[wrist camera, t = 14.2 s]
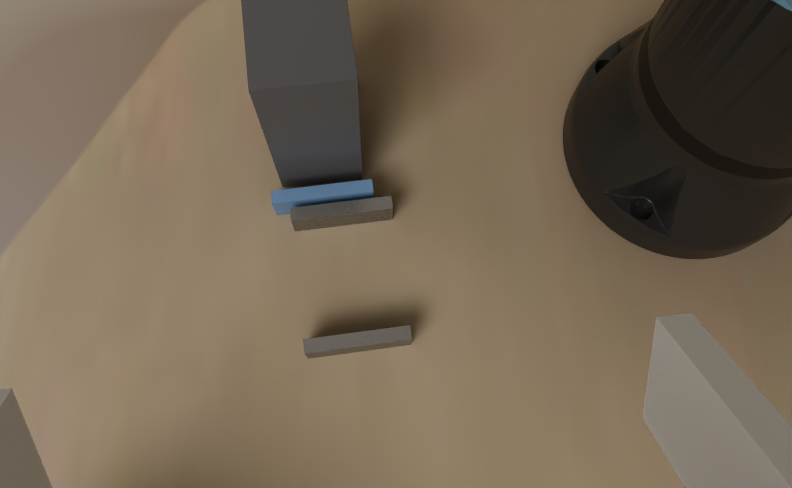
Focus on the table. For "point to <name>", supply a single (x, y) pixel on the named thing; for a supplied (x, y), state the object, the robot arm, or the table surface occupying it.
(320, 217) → the pair of grey bars
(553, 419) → the table surface
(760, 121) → the robot arm
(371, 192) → the blue flat block
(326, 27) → the dark grey rectangular block
